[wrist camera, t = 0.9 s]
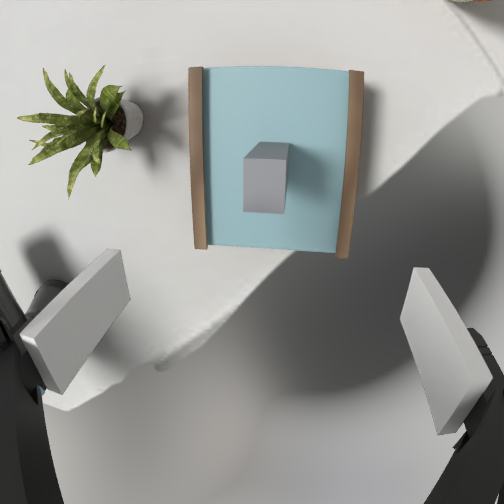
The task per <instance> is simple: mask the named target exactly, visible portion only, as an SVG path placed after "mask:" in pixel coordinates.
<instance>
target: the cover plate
mask: <svg viewBox="0 0 504 504" xmlns="http://www.w3.org/2000/svg"><path fill="white" fill-rule="evenodd" d="M348 95H349V71H340V70H329V69H317V68H302V67H277V66H237V67H212V68H203V125H204V171H205V201H206V224H207V245H220V246H236V247H252V248H268V249H283V250H299V251H314V252H330V253H335V252H336V244H337V236H338V227H339V218H340V209H341V199H342V189H343V178H344V166H345V152H346V137H347V119H348Z"/></svg>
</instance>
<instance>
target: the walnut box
mask: <svg viewBox="0 0 504 504" xmlns="http://www.w3.org/2000/svg"><path fill="white" fill-rule="evenodd" d="M188 86H189V146H190V174H191V196H192V214H193V231H194V245H195V249H206V250H207V248H208V245H207V224H206V201H205V171H204V125H203V67H190V68H189V73H188ZM363 91H364V72H362V71H354V70H349V95H348V119H347V137H346V152H345V166H344V178H343V189H342V199H341V209H340V218H339V227H338V236H337V244H336V252H335V258H344V259H348V253H349V246H350V239H351V232H352V225H353V216H354V208H355V200H356V191H357V181H358V170H359V159H360V146H361V132H362V115H363Z"/></svg>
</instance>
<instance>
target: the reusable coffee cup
mask: <svg viewBox="0 0 504 504" xmlns="http://www.w3.org/2000/svg"><path fill="white" fill-rule="evenodd" d="M450 1H453V2H458V3H462V2H468V1H473V0H450ZM475 1H489V0H475Z"/></svg>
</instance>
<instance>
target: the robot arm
mask: <svg viewBox="0 0 504 504" xmlns="http://www.w3.org/2000/svg"><path fill="white" fill-rule="evenodd" d="M130 300H131V299H130V295H129V290H128V285H127V281H126V276H125V271H124V266H123V260H122V255H121V250H117V249H106V250H105V251H104V252H103V253H102V254H101V255H100V256H99V257H97V258H96V259H95V260H94V261H93V262H92V263H91V264H90V265H89V266H88V267H87V268H85V269H84V270H83V271H82V272H81V273H80V274H79V275H78V276H77V277H76V278H75V279H74V280H73V281H72V282H70V283H69V284H67V283H64V282H62V281H58V280H50V281H47V282H46V283H44V284H43V285H42V286H41V287H40V288H39V289H38V290H37V292H36V294H35V296H34V299H33V301H32V303H31V305H30V307H29V309H28V311H27V312H26V314H25V315H24V313H23V311H22V309H21V308H20V306H19V304H18V303H17V301H16V299H15V297H14V296H13V294H12V292H11V290H10V288H9V287H8V285H7V283H6V281H5V279H4V277H3V275H2V273H1V269H0V504H64V502H63V498H62V495H61V491H60V488H59V484H58V480H57V477H56V473H55V468H54V464H53V460H52V456H51V451H50V446H49V441H48V436H47V430H46V424H45V417H44V411H43V403H42V395H43V394H44V393H45V390H46V389H48V390H51V391H53V392H56V393H59V394H61V395H63V393H64V392H65V390H66V389H67V387H68V386H69V384H70V383H71V381H72V380H73V379H74V377H75V376H76V374H77V373H78V371H79V370H80V368H81V367H82V365H83V364H84V363H85V361H86V360H87V358H88V357H89V355H90V354H91V353H92V351H93V350H94V348H95V347H96V346H97V344H98V343H99V341H100V340H101V339H102V337H103V336H104V334H105V333H106V332H107V330H108V329H109V328H110V326H111V325H112V324H113V322H114V321H115V319H116V318H117V317H118V315H119V314H120V313H121V311H122V310H123V309H124V307H125V306H126V305H127V303H128V302H129V301H130ZM400 321H401V324H402V326H403V329H404V332H405V334H406V337H407V339H408V342H409V345H410V348H411V351H412V354H413V357H414V360H415V363H416V366H417V368H418V372H419V375H420V378H421V381H422V384H423V387H424V390H425V394H426V397H427V400H428V403H429V407H430V410H431V414H432V417H433V421H434V425H435V428H436V432H437V435H444V434H450V433H456V432H457V430H458V429H459V428H460V426H461V425H462V424H463V422H464V424H465V427H466V430H467V431H466V432H465V433H464V434H463V436H462V437H461V438H460V440H459V441H458V442H457V443H456V444H455V446H454V447H453V448H454V449H455V451H454V453H453V455H452V457H451V459H450V461H449V463H448V464H447V466H446V468H445V470H444V472H443V473H442V475H441V477H440V478H439V480H438V482H437V483H436V485H435V487H434V488H433V490H432V492H431V493H430V495H429V496H428V498H427V500H426V501H425V502H424V504H494V503H495V501H496V498H497V496H498V494H499V497H498V502H497V504H504V375H503V373H502V371H501V369H500V367H499V365H498V364H497V362H496V360H495V358H494V356H493V355H492V352H491V351H490V349H489V348H488V347H487V346H488V345H487V344H486V342H485V340H484V339H483V337H482V336H481V335H480V334H479V333H478V332H477V331H476V330H475V329H474V328H466V326H465V325H464V323H463V321H462V320H461V318H460V316H459V315H458V313H457V311H456V310H455V308H454V306H453V305H452V303H451V302H450V300H449V298H448V297H447V295H446V293H445V292H444V290H443V289H442V287H441V286H440V284H439V283H438V281H437V280H436V278H435V277H434V275H433V274H432V272H431V271H430V269H429V268H416V267H414V268H413V272H412V277H411V280H410V284H409V288H408V292H407V295H406V299H405V302H404V306H403V310H402V313H401V316H400ZM456 447H457V448H456Z"/></svg>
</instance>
